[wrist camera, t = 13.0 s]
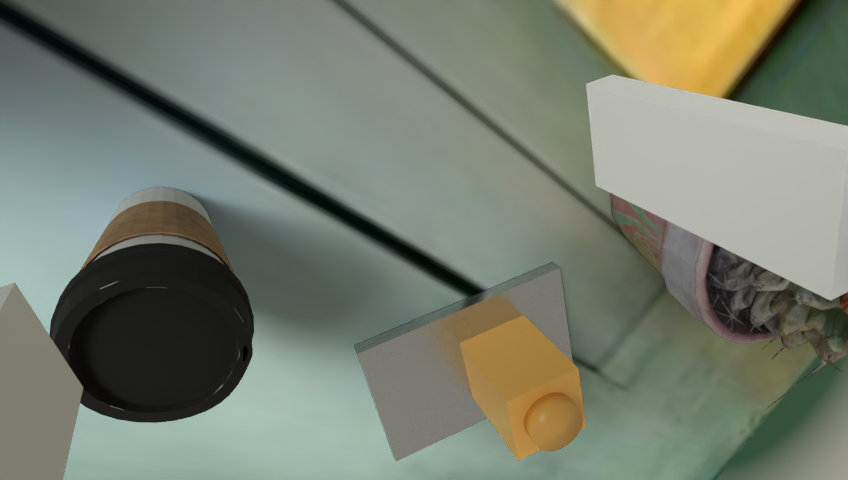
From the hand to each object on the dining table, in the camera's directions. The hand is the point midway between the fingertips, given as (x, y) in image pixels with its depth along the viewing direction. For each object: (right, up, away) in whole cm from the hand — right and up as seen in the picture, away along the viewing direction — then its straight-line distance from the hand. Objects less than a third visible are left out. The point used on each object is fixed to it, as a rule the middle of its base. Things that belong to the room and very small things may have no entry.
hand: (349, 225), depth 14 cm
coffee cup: (-15, 0, +25) cm, 29 cm away
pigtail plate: (+6, -11, +38) cm, 40 cm away
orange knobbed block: (+8, -10, +38) cm, 40 cm away
